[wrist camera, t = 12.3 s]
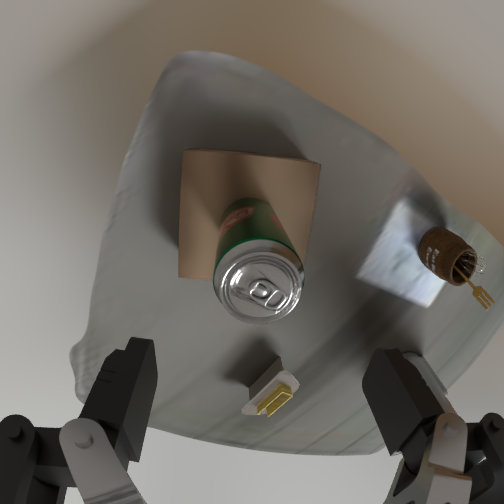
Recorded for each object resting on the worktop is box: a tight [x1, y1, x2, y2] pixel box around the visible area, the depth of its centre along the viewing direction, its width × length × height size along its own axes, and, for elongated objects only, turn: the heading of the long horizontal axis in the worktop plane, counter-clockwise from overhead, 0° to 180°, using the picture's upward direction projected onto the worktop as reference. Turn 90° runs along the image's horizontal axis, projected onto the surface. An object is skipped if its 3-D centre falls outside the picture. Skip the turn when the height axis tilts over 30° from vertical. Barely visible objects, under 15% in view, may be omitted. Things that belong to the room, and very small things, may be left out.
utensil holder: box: [419, 227, 495, 310], centre depth 28 cm, size 6×6×12 cm
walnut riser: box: [178, 148, 321, 280], centre depth 28 cm, size 12×12×5 cm
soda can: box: [213, 198, 305, 324], centre depth 20 cm, size 5×5×12 cm
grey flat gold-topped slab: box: [242, 356, 299, 417], centre depth 37 cm, size 12×18×7 cm, turn 147°
